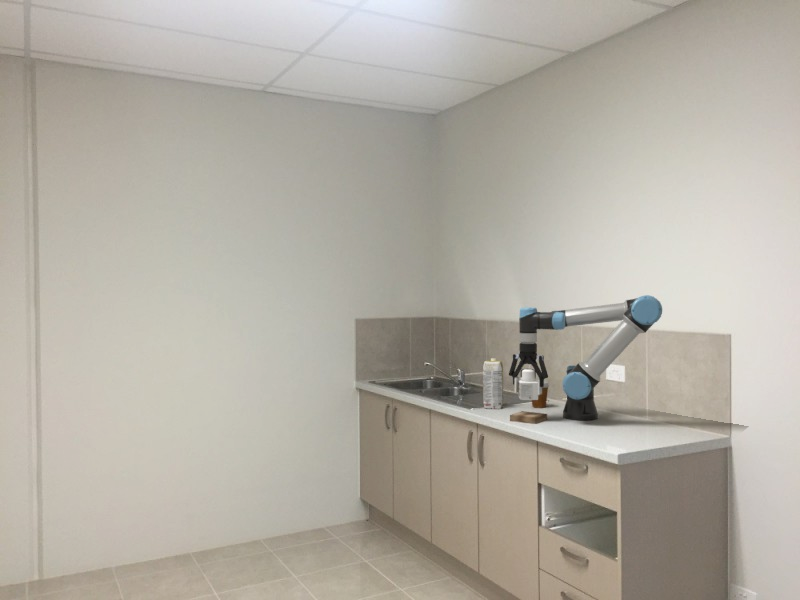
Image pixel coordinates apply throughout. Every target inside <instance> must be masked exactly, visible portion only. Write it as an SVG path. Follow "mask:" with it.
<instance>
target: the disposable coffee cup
mask: <svg viewBox="0 0 800 600" xmlns="http://www.w3.org/2000/svg"><path fill="white" fill-rule="evenodd" d="M536 381H537V382H538V380H536ZM549 386H550V384H549V382H548V381H544V387H542V394H541V395H538V400H531V404H532V408H536V409H545V408H546V407H547V400H548V391H549Z"/></svg>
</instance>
